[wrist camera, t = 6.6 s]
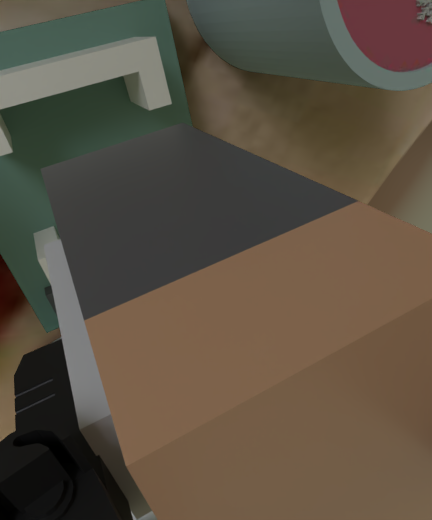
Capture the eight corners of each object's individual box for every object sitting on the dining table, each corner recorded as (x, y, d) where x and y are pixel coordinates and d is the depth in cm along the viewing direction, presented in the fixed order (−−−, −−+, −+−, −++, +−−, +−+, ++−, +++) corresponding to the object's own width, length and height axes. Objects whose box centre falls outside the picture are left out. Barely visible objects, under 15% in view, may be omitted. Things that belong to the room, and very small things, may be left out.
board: (-106, 56, 16) (-137, 62, 12) (153, -2, 19) (189, -12, 15) (44, 317, 23) (52, 368, 20) (211, 247, 26) (244, 280, 23)
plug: (40, 168, 10) (126, 467, 3) (182, 122, 11) (496, 262, 4) (117, 336, 13) (246, 670, 6) (222, 288, 15) (435, 528, 7)
